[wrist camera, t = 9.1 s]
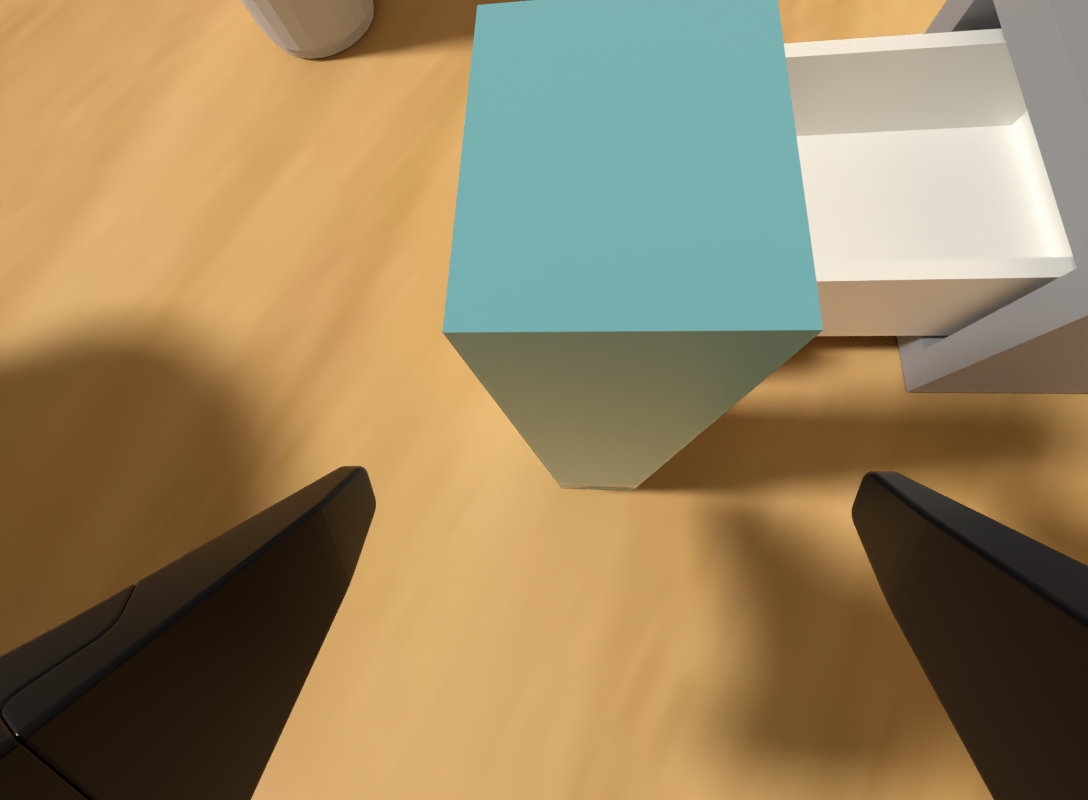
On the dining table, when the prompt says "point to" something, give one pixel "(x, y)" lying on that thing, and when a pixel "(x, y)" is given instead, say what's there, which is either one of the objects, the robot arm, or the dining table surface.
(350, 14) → the coffee cup
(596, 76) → the teal white angled piece
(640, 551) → the dining table surface
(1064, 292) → the carton sleeve
